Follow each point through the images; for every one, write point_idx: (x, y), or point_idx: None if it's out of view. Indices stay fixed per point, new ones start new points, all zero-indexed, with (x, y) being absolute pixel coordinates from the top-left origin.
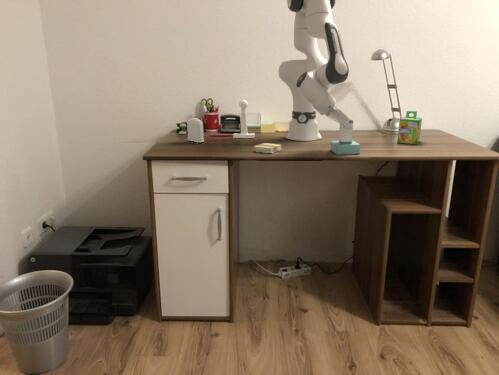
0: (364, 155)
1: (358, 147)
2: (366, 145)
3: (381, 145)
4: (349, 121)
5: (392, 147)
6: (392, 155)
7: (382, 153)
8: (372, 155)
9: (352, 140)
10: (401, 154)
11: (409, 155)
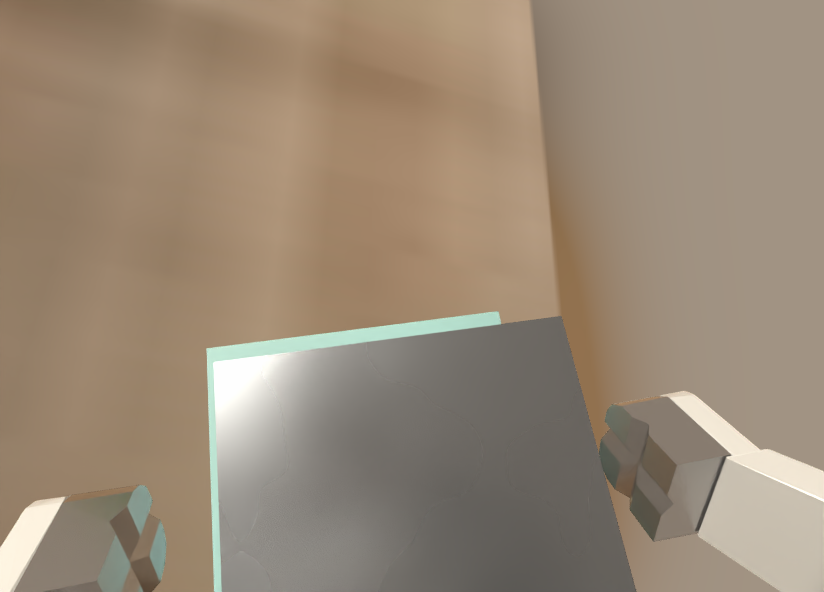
0: (536, 310)
1: None
2: (68, 187)
3: (105, 65)
4: (583, 438)
5: (215, 16)
6: (520, 105)
7: (451, 150)
8: (531, 244)
9: (218, 353)
10: (483, 41)
11: (513, 9)
